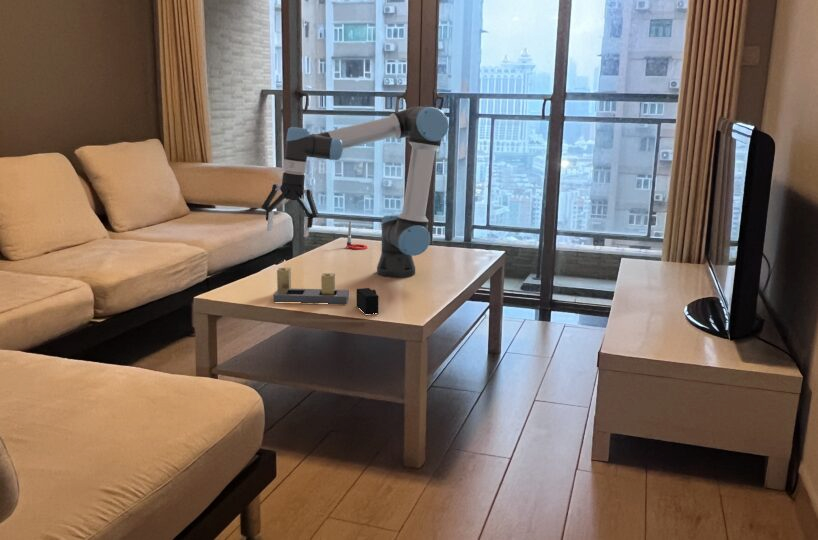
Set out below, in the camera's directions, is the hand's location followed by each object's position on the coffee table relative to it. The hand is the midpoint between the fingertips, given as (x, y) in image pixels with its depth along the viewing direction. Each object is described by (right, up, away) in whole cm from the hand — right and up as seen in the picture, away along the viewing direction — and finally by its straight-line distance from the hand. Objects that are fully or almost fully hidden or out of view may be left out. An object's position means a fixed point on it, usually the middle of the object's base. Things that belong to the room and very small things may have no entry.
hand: (287, 233), depth 267 cm
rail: (+10, -24, -10) cm, 27 cm away
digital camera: (+29, -27, -20) cm, 44 cm away
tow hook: (+19, -3, +80) cm, 82 cm away
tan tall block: (-1, -21, 0) cm, 21 cm away
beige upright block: (+15, -23, -10) cm, 29 cm away
